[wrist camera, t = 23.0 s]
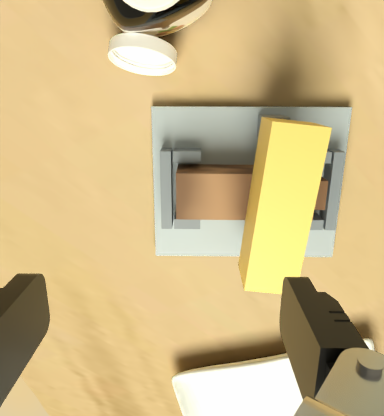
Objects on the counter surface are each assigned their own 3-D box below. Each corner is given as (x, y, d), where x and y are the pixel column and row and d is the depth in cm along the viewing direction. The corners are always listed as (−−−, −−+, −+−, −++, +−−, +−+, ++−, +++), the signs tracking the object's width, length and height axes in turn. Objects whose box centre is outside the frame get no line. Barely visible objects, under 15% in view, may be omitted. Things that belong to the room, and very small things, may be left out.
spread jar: (196, -64, 36) (195, -132, 25) (229, 53, 40) (241, 38, 28) (86, -19, 38) (39, -65, 27) (126, 90, 41) (100, 89, 30)
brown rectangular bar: (178, 205, 44) (176, 219, 39) (178, 164, 42) (175, 173, 37) (312, 206, 43) (326, 221, 39) (317, 165, 42) (332, 174, 37)
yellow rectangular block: (238, 264, 40) (244, 290, 35) (261, 116, 35) (272, 121, 30) (282, 269, 40) (295, 295, 35) (312, 122, 36) (332, 127, 30)
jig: (156, 251, 47) (151, 273, 41) (152, 106, 41) (145, 108, 36) (329, 253, 46) (347, 275, 41) (347, 106, 41) (372, 109, 35)
